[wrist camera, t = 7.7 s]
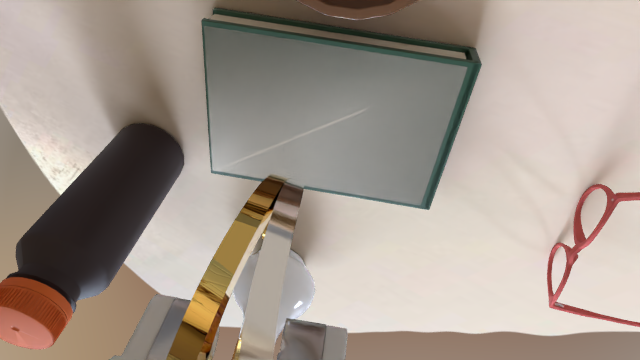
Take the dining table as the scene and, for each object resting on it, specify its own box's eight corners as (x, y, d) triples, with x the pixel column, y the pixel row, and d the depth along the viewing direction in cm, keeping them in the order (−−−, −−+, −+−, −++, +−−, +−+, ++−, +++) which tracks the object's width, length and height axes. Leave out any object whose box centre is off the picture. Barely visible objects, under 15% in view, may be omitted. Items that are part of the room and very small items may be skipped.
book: (475, 47, 33) (482, 64, 30) (427, 189, 42) (429, 210, 39) (214, 7, 34) (201, 20, 31) (221, 154, 42) (210, 173, 40)
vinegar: (197, 172, 44) (89, 355, 28) (142, 183, 46) (13, 360, 30) (163, 114, 40) (17, 289, 25) (104, 129, 42) (-65, 300, 27)
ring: (250, 106, 12) (87, 417, 5) (365, 139, 12) (336, 478, 6) (223, 268, 16) (114, 543, 10) (307, 290, 16) (254, 575, 10)
